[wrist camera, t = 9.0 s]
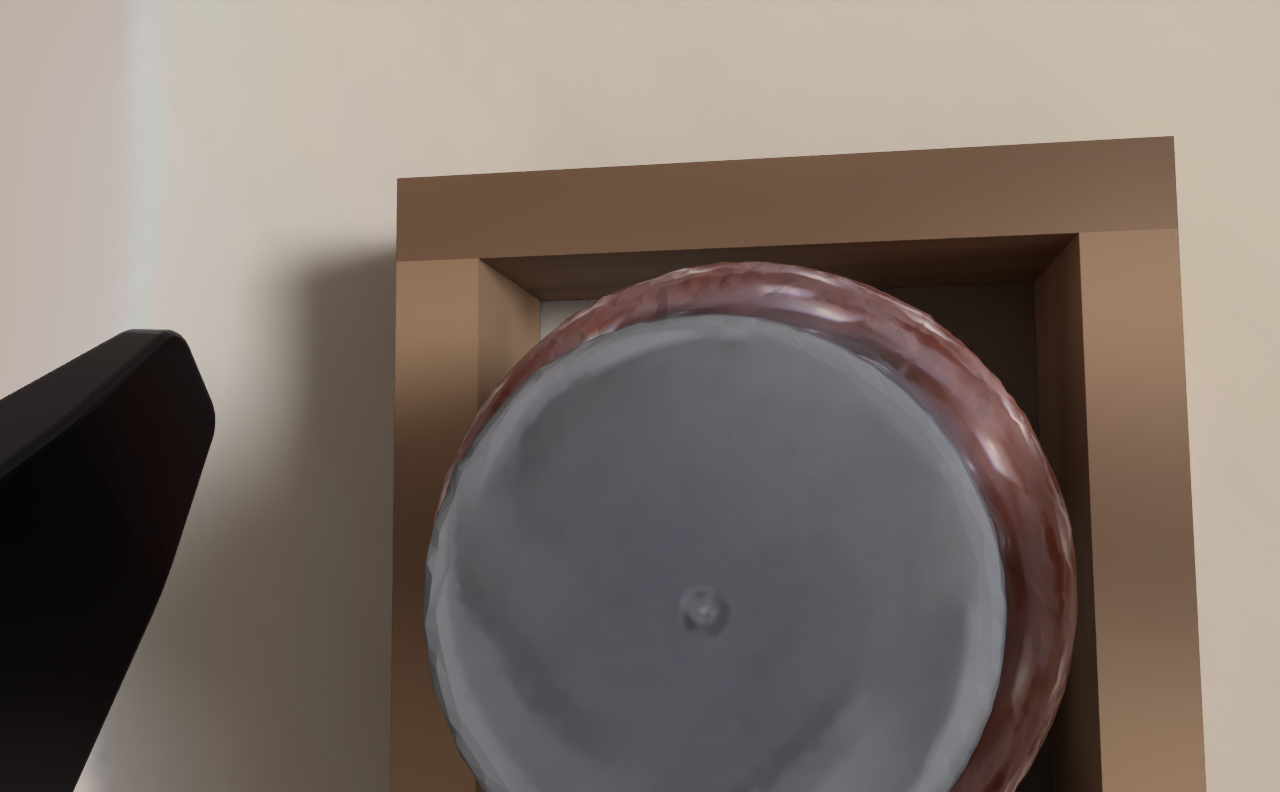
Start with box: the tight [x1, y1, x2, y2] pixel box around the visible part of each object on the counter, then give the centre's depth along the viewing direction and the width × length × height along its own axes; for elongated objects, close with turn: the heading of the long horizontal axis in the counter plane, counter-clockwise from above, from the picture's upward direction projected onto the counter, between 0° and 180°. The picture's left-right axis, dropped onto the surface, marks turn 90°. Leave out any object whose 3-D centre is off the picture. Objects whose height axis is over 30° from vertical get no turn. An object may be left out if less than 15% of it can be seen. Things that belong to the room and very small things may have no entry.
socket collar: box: [390, 136, 1206, 792], centre depth 17 cm, size 10×10×4 cm
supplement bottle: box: [422, 261, 1078, 792], centre depth 13 cm, size 6×6×11 cm
